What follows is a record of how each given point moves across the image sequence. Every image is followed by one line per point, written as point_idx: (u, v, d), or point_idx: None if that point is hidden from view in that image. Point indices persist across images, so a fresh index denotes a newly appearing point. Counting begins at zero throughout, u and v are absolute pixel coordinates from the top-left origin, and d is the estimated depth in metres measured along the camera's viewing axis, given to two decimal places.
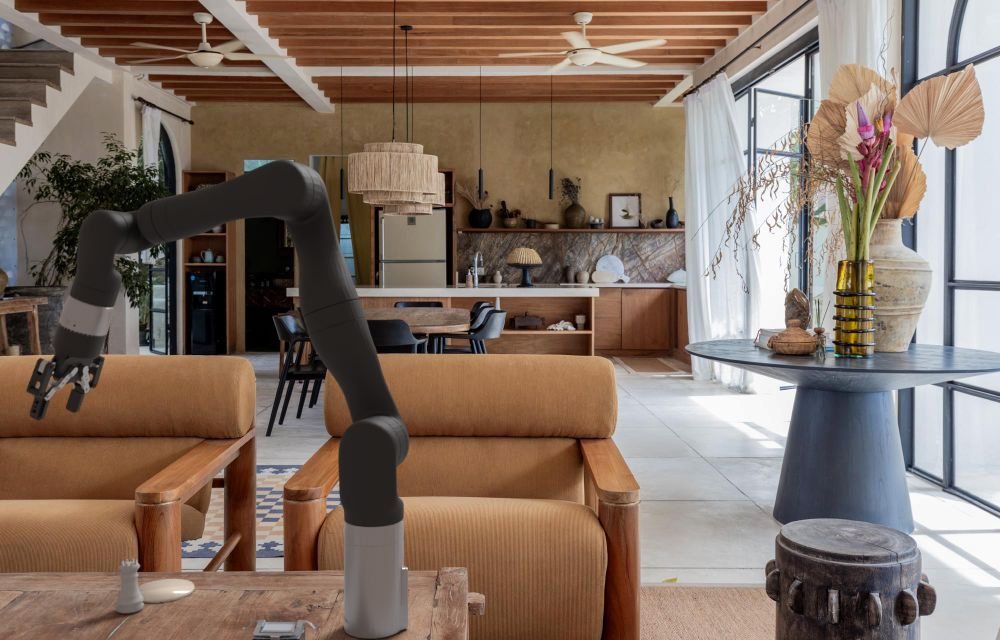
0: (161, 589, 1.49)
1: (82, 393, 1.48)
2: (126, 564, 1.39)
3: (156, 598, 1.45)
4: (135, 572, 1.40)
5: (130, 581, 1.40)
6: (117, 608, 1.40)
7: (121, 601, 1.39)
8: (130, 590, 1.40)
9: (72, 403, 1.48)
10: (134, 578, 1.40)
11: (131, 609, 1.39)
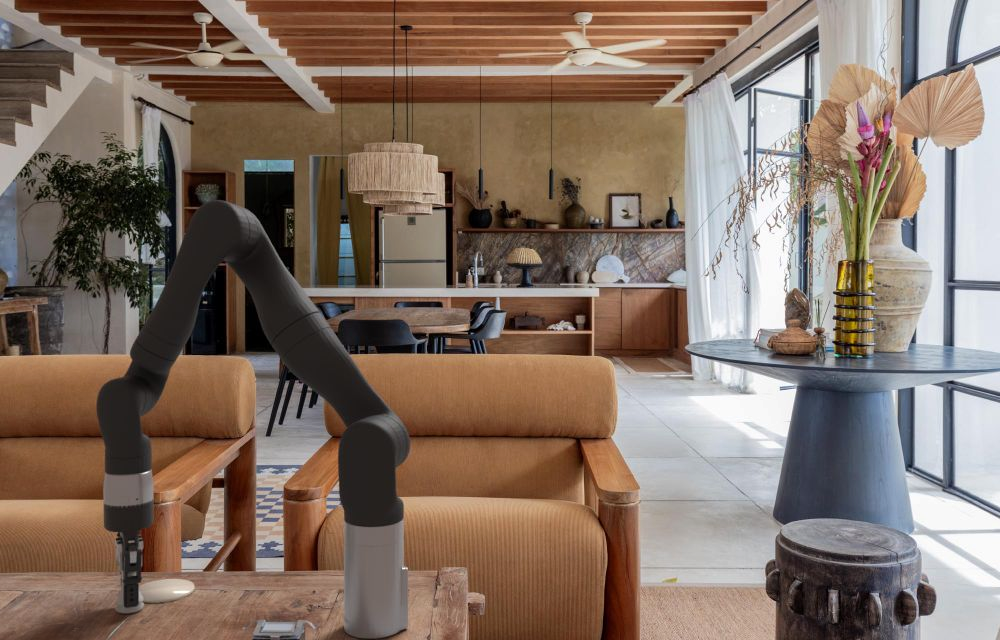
0: (161, 589, 1.49)
1: None
2: None
3: (156, 598, 1.45)
4: (135, 572, 1.40)
5: None
6: (117, 608, 1.40)
7: (121, 601, 1.39)
8: None
9: None
10: None
11: (131, 609, 1.39)
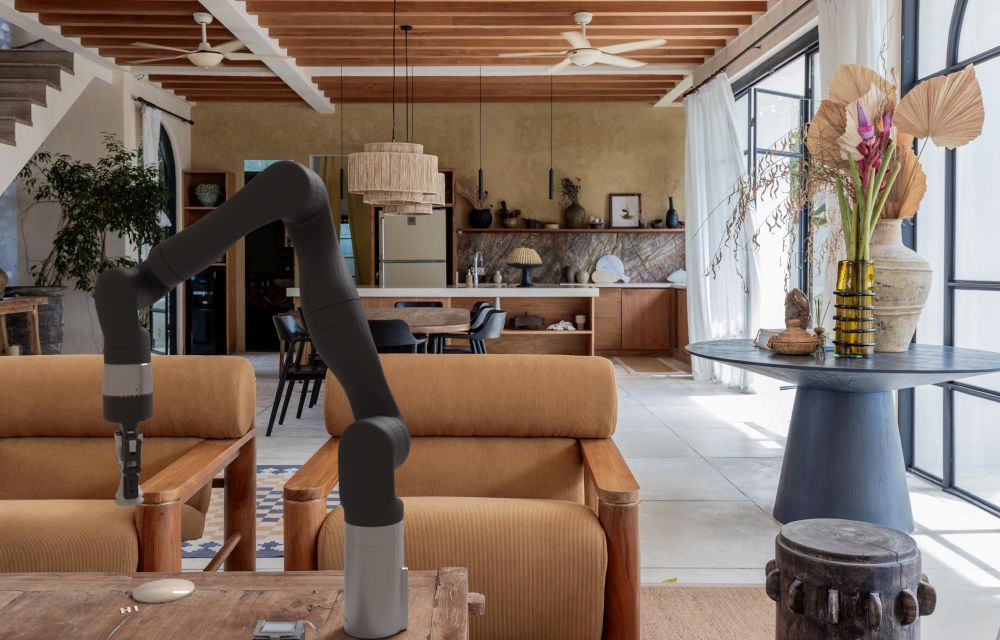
0: (161, 589, 1.49)
1: None
2: None
3: (156, 598, 1.45)
4: (134, 465, 1.40)
5: None
6: (117, 501, 1.39)
7: (120, 493, 1.38)
8: None
9: None
10: None
11: (131, 502, 1.38)
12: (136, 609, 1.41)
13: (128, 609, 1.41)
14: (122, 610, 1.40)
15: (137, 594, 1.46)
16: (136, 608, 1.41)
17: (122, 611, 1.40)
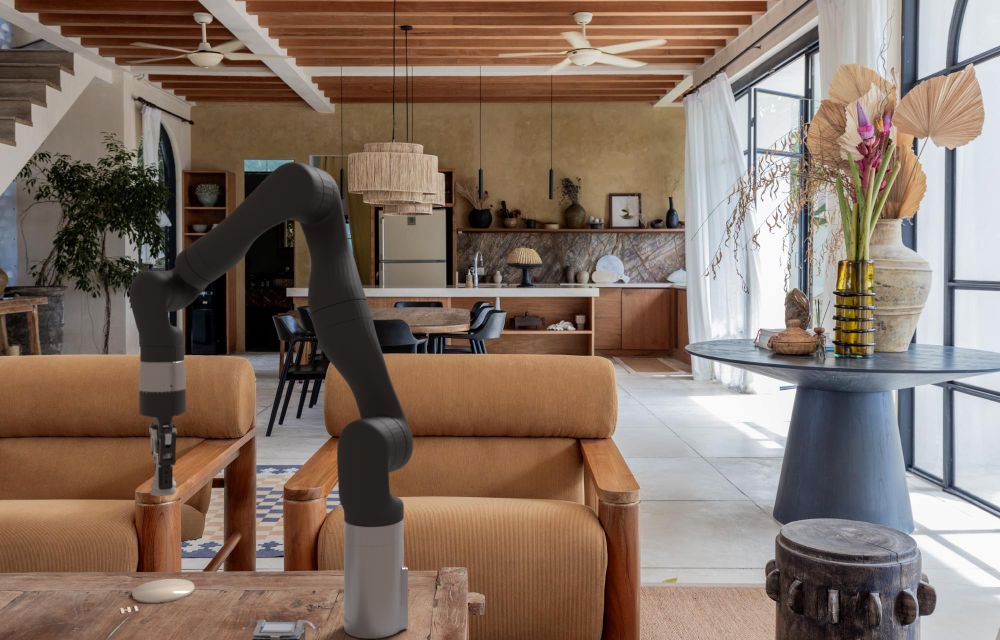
0: (161, 589, 1.49)
1: None
2: None
3: (156, 598, 1.45)
4: None
5: None
6: (152, 491, 1.47)
7: (155, 484, 1.46)
8: None
9: None
10: None
11: (165, 492, 1.46)
12: (136, 609, 1.41)
13: (128, 609, 1.41)
14: (122, 610, 1.40)
15: (137, 594, 1.46)
16: (136, 608, 1.41)
17: (122, 611, 1.40)
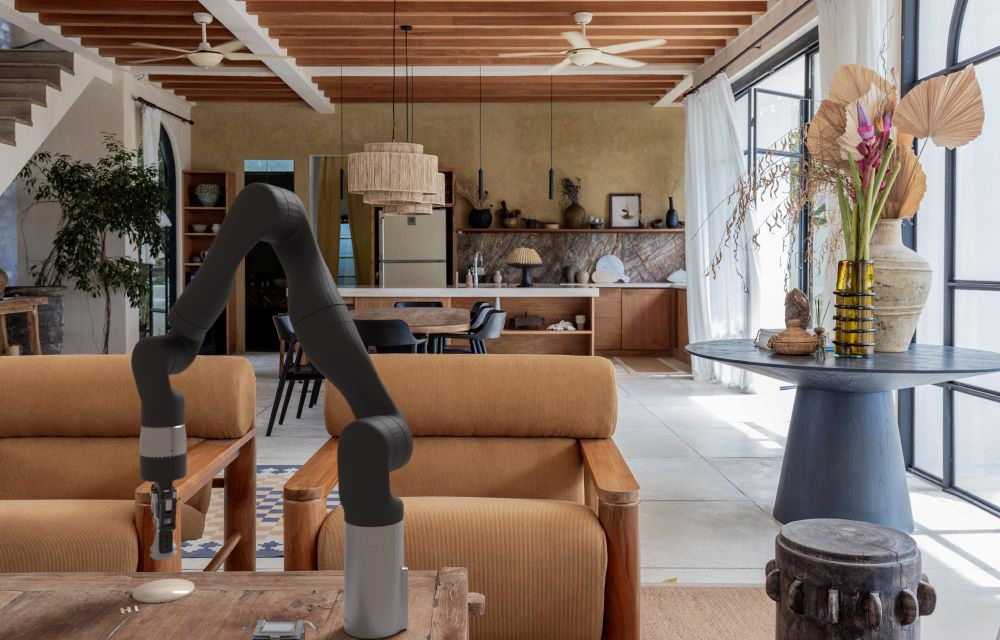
0: (161, 589, 1.49)
1: None
2: None
3: (156, 598, 1.45)
4: (169, 521, 1.48)
5: None
6: (152, 554, 1.47)
7: (156, 547, 1.47)
8: None
9: None
10: None
11: (165, 556, 1.47)
12: (136, 609, 1.41)
13: (128, 609, 1.41)
14: (122, 610, 1.40)
15: (137, 594, 1.46)
16: (136, 608, 1.41)
17: (122, 611, 1.40)
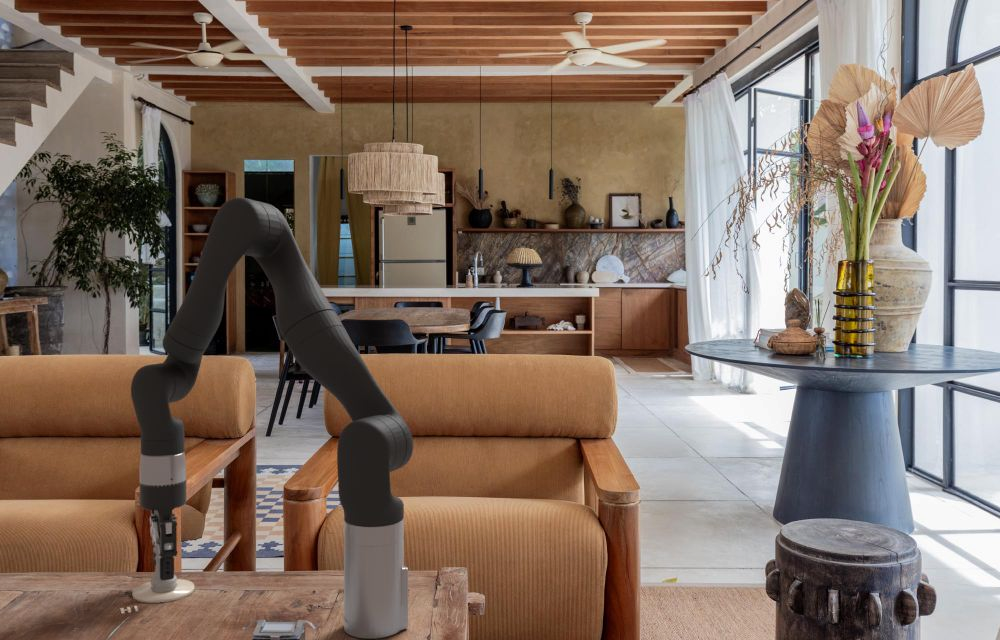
0: None
1: None
2: None
3: (156, 598, 1.45)
4: None
5: None
6: (152, 588, 1.47)
7: (156, 581, 1.47)
8: None
9: None
10: None
11: (166, 588, 1.47)
12: (136, 609, 1.41)
13: (128, 609, 1.41)
14: (122, 610, 1.40)
15: (137, 594, 1.46)
16: (136, 608, 1.41)
17: (122, 611, 1.40)
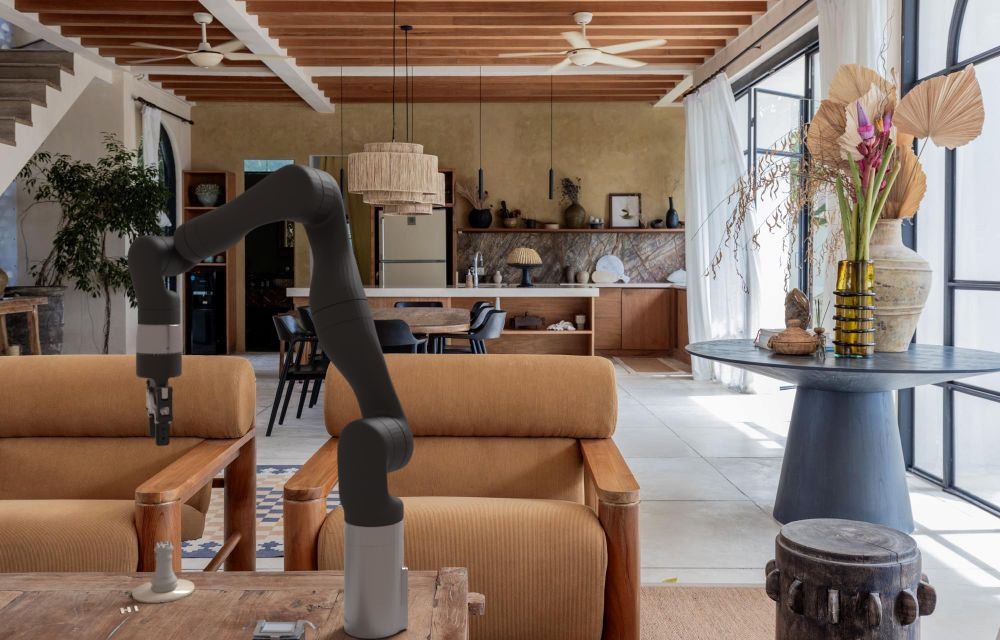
0: None
1: None
2: (161, 546, 1.47)
3: (156, 598, 1.45)
4: (169, 554, 1.48)
5: (165, 562, 1.48)
6: (153, 588, 1.47)
7: (156, 581, 1.47)
8: (164, 571, 1.48)
9: (156, 429, 1.55)
10: (168, 559, 1.48)
11: (166, 589, 1.47)
12: (136, 609, 1.41)
13: (128, 609, 1.41)
14: (122, 610, 1.40)
15: (137, 594, 1.46)
16: (136, 608, 1.41)
17: (122, 611, 1.40)
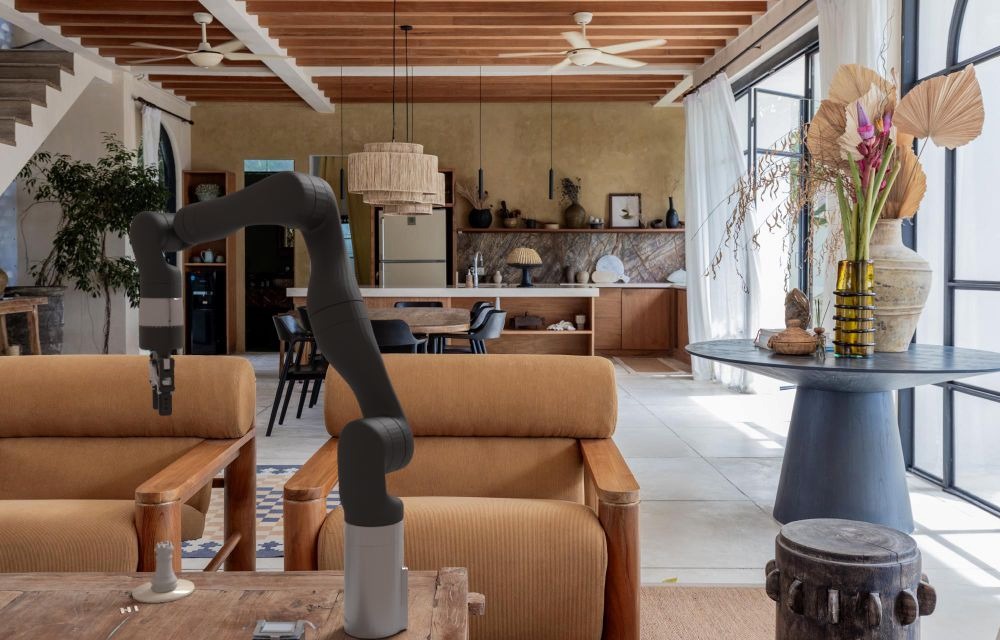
0: None
1: None
2: (161, 546, 1.47)
3: (156, 598, 1.45)
4: (170, 554, 1.48)
5: (165, 562, 1.48)
6: (153, 588, 1.47)
7: (156, 581, 1.47)
8: (165, 571, 1.48)
9: None
10: (169, 559, 1.48)
11: (166, 589, 1.47)
12: (136, 609, 1.41)
13: (128, 609, 1.41)
14: (122, 610, 1.40)
15: (137, 594, 1.46)
16: (136, 608, 1.41)
17: (122, 611, 1.40)
